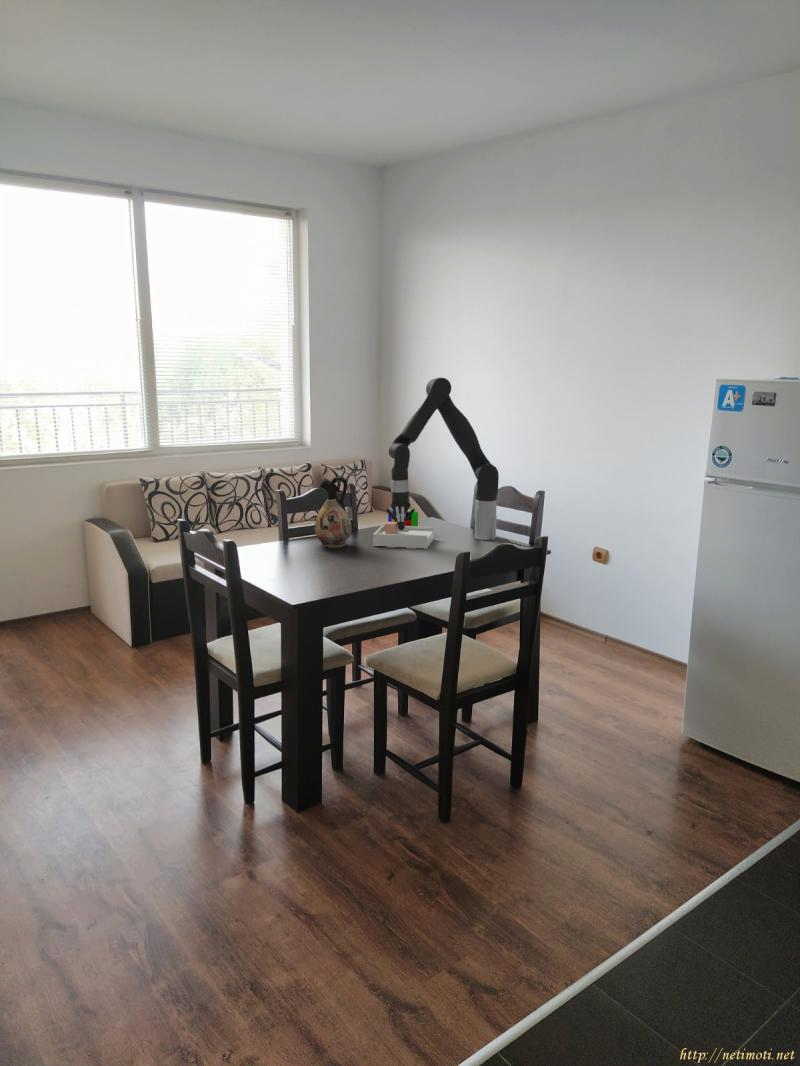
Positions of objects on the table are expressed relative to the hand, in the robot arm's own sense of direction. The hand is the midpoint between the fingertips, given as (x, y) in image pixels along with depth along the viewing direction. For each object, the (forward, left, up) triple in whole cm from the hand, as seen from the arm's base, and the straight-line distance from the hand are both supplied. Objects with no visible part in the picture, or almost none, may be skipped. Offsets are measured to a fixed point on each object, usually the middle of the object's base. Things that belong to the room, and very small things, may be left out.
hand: (401, 530), depth 328 cm
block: (+4, 0, -2) cm, 5 cm away
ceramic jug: (+26, +11, -6) cm, 29 cm away
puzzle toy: (+3, -21, -6) cm, 22 cm away
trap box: (-1, 0, -6) cm, 6 cm away
